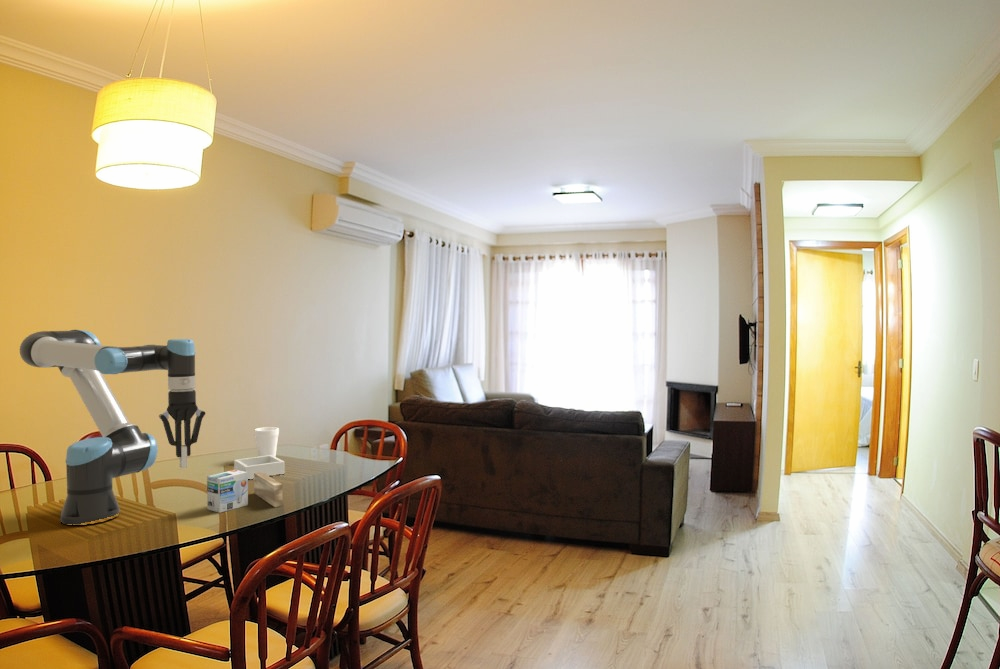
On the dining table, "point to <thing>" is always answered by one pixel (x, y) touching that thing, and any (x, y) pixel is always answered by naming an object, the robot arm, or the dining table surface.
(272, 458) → the frame
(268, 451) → the foam cup
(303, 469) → the dining table surface
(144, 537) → the dining table surface
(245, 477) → the light bulb box
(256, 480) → the board
